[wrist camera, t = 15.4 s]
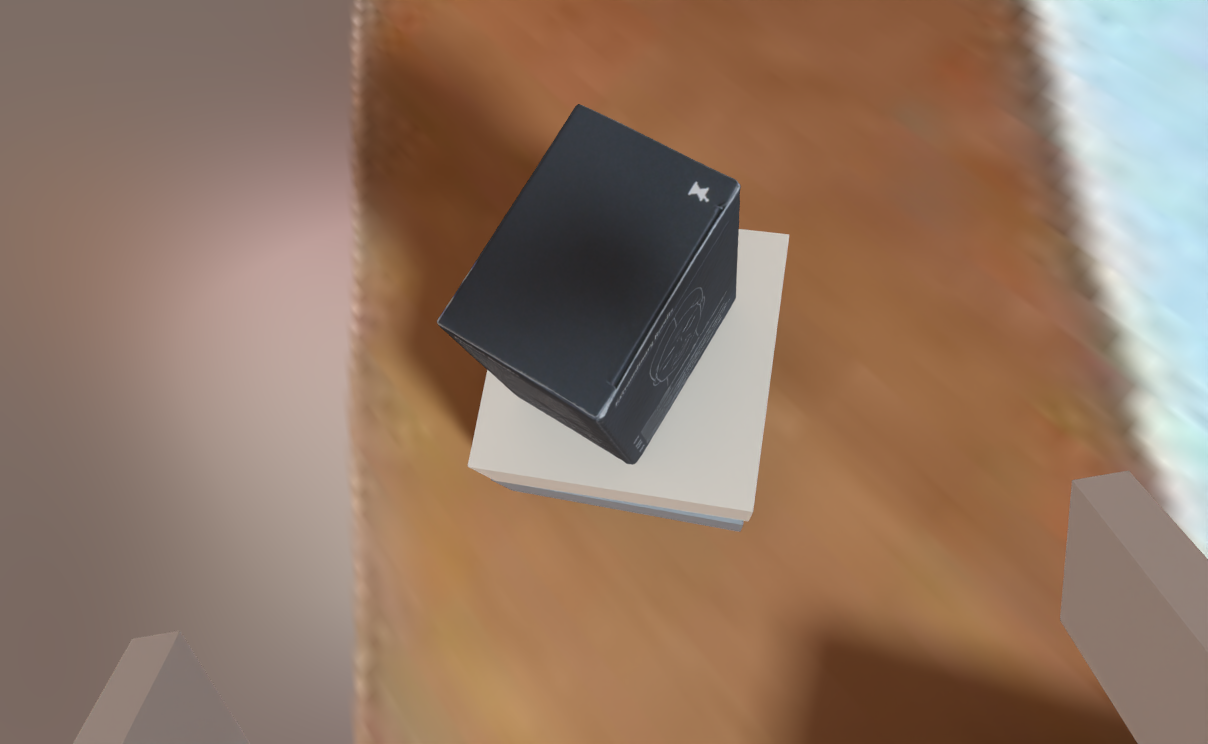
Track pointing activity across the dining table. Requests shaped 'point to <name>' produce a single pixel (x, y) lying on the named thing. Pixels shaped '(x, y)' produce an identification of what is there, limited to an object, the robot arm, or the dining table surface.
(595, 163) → the box
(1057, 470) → the dining table surface
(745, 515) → the tower top
